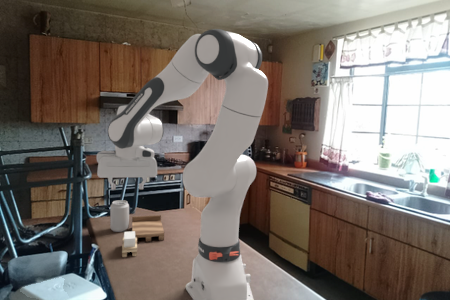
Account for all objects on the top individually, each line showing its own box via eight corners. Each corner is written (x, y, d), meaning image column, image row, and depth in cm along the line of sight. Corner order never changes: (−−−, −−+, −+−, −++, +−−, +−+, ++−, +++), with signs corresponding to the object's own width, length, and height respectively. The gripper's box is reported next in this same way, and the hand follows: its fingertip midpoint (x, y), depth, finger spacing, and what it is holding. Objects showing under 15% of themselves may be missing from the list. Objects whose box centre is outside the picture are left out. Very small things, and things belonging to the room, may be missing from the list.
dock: (164, 240, 130) (164, 227, 129) (132, 242, 126) (132, 229, 126) (160, 226, 145) (160, 215, 144) (132, 227, 142) (132, 216, 141)
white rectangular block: (135, 246, 116) (135, 238, 116) (124, 247, 115) (124, 239, 115) (135, 238, 123) (135, 231, 123) (124, 239, 122) (124, 231, 122)
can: (123, 233, 135) (123, 205, 133) (106, 231, 136) (106, 203, 135) (132, 227, 142) (132, 200, 141) (116, 225, 144) (116, 198, 142)
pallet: (137, 256, 115) (137, 248, 115) (122, 257, 114) (122, 249, 114) (136, 244, 125) (136, 237, 125) (122, 245, 124) (122, 238, 123)
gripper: (96, 151, 109) (95, 192, 111) (158, 152, 116) (157, 191, 118) (96, 148, 115) (96, 187, 117) (156, 149, 122) (154, 186, 124)
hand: (127, 189), depth 117 cm, fingers open, 8 cm apart
